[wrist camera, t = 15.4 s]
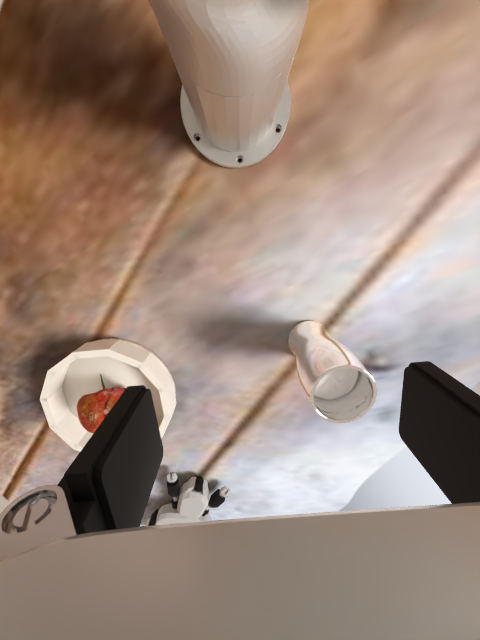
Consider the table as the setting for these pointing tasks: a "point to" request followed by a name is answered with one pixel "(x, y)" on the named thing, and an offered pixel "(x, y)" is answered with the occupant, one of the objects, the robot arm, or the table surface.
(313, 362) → the beer glass
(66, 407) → the fruit bowl
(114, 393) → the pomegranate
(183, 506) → the robot toy
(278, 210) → the table surface
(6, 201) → the table surface
